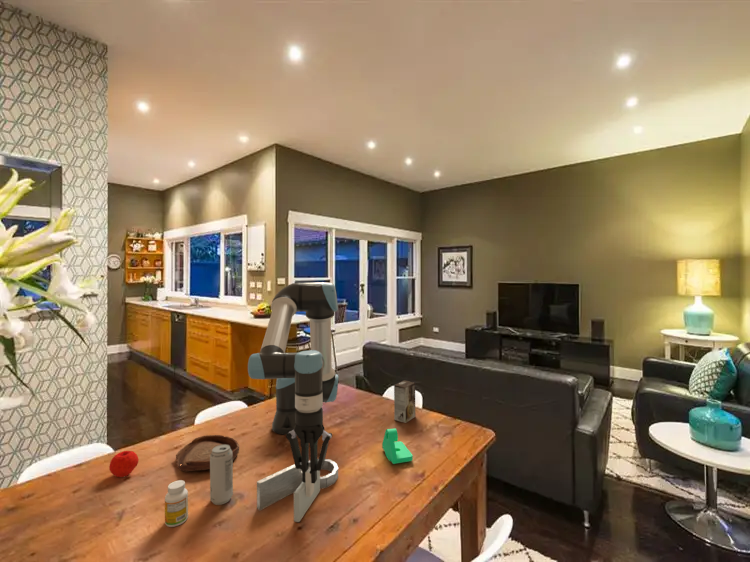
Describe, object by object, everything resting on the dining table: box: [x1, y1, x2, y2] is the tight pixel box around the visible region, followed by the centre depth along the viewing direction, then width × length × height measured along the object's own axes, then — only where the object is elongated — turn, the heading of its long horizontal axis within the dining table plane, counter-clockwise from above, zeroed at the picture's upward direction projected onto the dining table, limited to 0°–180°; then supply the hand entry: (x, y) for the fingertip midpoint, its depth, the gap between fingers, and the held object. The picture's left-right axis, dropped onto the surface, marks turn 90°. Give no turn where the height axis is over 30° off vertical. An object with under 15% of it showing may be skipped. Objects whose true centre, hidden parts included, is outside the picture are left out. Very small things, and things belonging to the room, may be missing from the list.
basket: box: [175, 434, 240, 472], centre depth 126 cm, size 22×20×5 cm
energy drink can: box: [209, 444, 234, 506], centre depth 102 cm, size 6×6×15 cm
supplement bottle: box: [164, 479, 189, 528], centre depth 93 cm, size 5×5×10 cm
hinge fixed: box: [256, 458, 339, 511], centre depth 108 cm, size 12×27×8 cm, turn 137°
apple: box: [108, 450, 140, 478], centre depth 116 cm, size 8×8×7 cm
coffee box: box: [393, 380, 417, 424], centre depth 161 cm, size 9×6×16 cm
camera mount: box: [381, 427, 414, 465], centre depth 127 cm, size 12×8×10 cm, turn 17°
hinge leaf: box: [293, 470, 321, 523], centre depth 99 cm, size 2×14×8 cm, turn 166°
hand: (309, 493), depth 97 cm, fingers closed
